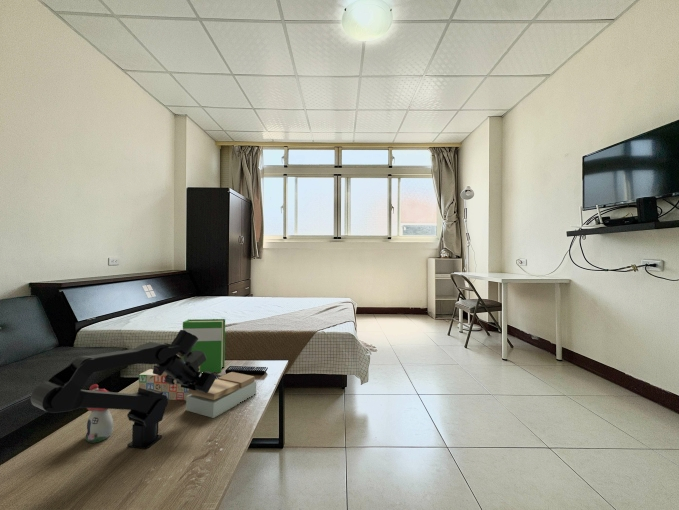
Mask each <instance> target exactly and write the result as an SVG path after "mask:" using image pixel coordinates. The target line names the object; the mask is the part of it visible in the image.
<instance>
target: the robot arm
mask: <svg viewBox="0 0 679 510" xmlns="http://www.w3.org/2000/svg"><path fill="white" fill-rule="evenodd" d="M197 341H198V338H197V337H196V336H195V335H192V334H191V333H188V332H186V331H185V330H183V329H180V330H179V331H178V333H177V335H176V336H175V338H174V339H173V340H172V342H171V343H167V342H164V343H161V342H156V341H149V342H146V343H143V344H140V345H138V346H136V347H134V348H131V349H124V350H117V351H111V352H106V353H105V352H104V353H98V354H92V355H81V356H78V357H76V358H75V359H74V360H73V361H71V362H70V363H69V364H68V365H67V366H65V367H63V368H62V369H60V370H59V371H57V372H55V373H54V374H53V375H52V376H50V377H49V378H48V380H46V381H44V382H43V383H41V384H39V385H38V386H36V388H34V390H33V391H32V392H31V395H30V402H31V405H32V406H34V407H36V408H38V409H40V410H43V411H45V412H46V413H49V414H58V413H64V412H71V411H74V410H77V409H81V408H83V409H87V408H103V409H109V410H110V409H111V410H129V412H128V413H127V414H126V416H127V419H128V421H129V422H133V424H132V429H131V430H132V431H131V432H132V433H131V435H132V436H131V441H130V442H128V443H127V444H126V445H127V446H126V447H127V448H136V449H145V450H146V449H148V448H150V447H151V446H153V445H154V444H155V443H156V442H157V441H159V440H161V439H162V438H163V435H162V434H159V423H160V422H161V421H163V418H164V415H165V411H166V409H167V406H168V403H169V401H168V400H169V399H167V396H165V395H162V394H163V392H160V391H157V390H154V389H151V388H149V389H143V388H139V387H138V389H137V392H135V393H127V392H126V393H125V392H113V391H109V392H104V391H92V390H90V389H89V390H88V389H87V390H86V389H83V388H84V386H85V385H86V383H87V382H88V379H89V378H90V376H91V375H92V374H94V373H96V372H101V371H107V370H112V369H117V368H122V367H126V366H132V365H137V364H138V365H139V364H140V365H153V374H156V375H160V376H161V375H162V374H163V372H165V373H167V376H166V377H165V382H166V383H168V384H171V385H174V384H175V383H174V382H173V381H174V380H176V381H177V382H176V383H178V384H181V387H182V388H186V389H190V390H195V391H196V390H198V391H200V392H203V393H207V392H209V390H210V388H211V386H212V384H213V383H214V381H215V379H217V378H218V377H217V374H216V373H214V372H210V371H204V372H203V373H202V372H198V371H199V370H200V369H199V368H198V367H199V366H200V365H201V364H202V363H203V362H205V361H206V360H207V358H206V356H205V354H204V352H203V351H198V350H196V351H192V352H191V350H192V348H193V347H194V345H195V344H196V342H197ZM182 356H183V358H184V360H182Z"/></svg>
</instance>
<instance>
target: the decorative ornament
mask: <svg viewBox="0 0 679 510" xmlns="http://www.w3.org/2000/svg"><path fill="white" fill-rule="evenodd" d="M88 389H89V390H92V391H104V392H110V391H109V390H107V389H105V388H99V385H98V384H97V383H95V384H92V385H91V386H90V387H89V388H88ZM86 409H87V410H88V411H89V412H90V414H89V416H88V418H87V422H86V429H87V430H86V431H87V432H86V434H85V435H84V437H85V440H86V442H87V443H89V444H91V443H93V444H95V443H99V442H102V441H105V440H106V439H108V438H109V436H110V435H111V434H112V432H113V428H114V419H113V415H112V414H111V411H110V409H103V408H86Z"/></svg>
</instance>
